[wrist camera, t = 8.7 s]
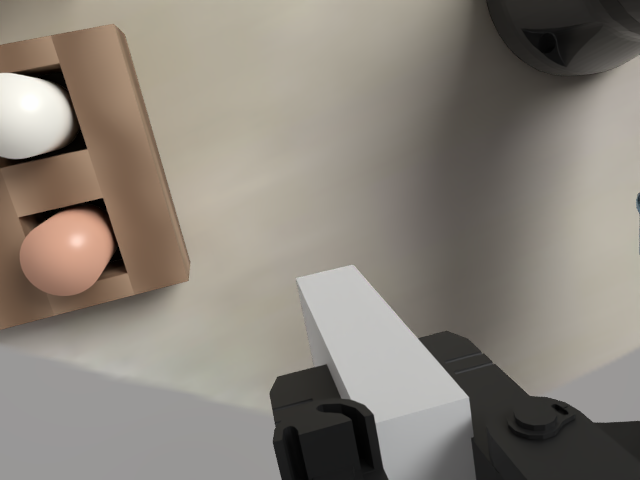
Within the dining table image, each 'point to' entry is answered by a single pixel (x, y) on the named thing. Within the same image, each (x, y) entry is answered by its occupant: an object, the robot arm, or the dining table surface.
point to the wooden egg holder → (90, 177)
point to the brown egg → (69, 250)
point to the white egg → (34, 116)
